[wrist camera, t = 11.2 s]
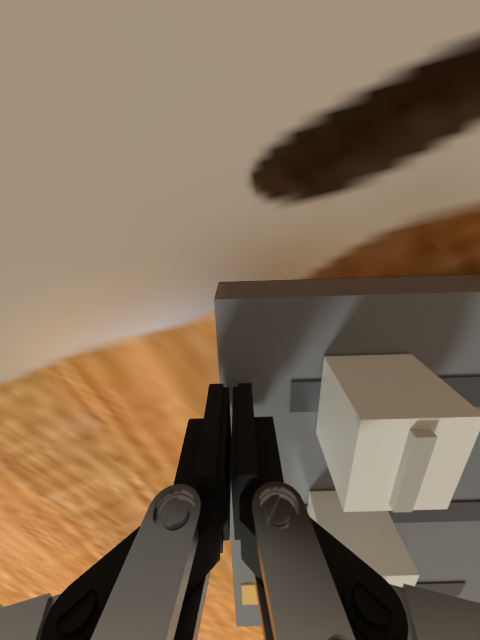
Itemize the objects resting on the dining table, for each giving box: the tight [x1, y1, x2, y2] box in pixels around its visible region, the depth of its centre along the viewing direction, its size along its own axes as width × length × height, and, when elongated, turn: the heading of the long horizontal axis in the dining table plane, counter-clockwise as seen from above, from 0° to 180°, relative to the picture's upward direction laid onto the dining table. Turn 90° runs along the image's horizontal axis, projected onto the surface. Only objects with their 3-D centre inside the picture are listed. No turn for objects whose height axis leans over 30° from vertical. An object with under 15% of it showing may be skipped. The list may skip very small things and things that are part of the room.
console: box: [214, 274, 480, 626], centre depth 16 cm, size 18×25×3 cm
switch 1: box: [316, 354, 480, 513], centre depth 10 cm, size 4×4×4 cm
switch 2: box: [307, 491, 419, 587], centre depth 13 cm, size 4×4×4 cm
